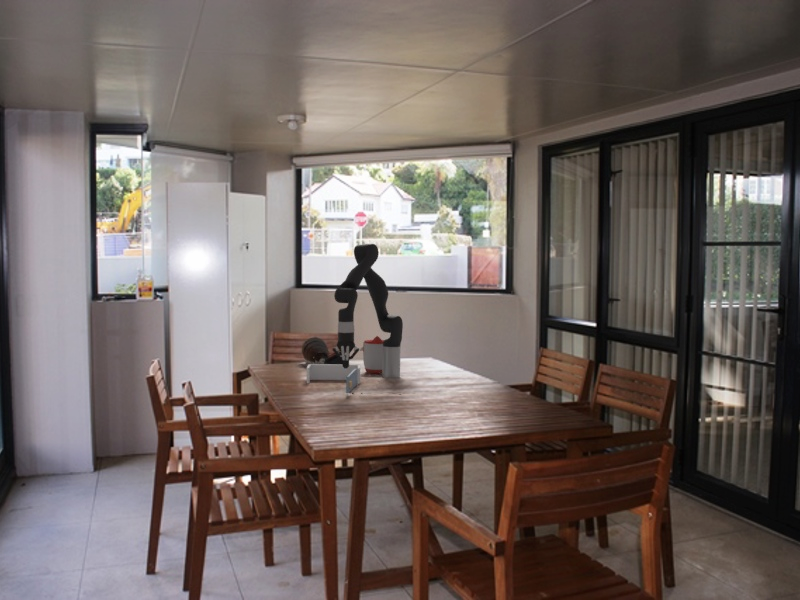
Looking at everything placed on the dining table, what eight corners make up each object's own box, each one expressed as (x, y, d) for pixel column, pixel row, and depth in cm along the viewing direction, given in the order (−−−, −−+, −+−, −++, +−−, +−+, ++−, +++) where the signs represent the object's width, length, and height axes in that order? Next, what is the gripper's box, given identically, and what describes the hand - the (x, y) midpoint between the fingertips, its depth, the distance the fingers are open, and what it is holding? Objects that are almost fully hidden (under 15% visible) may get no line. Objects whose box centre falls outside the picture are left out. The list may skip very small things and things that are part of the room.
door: (346, 393, 336) (346, 376, 336) (354, 384, 359) (354, 368, 358) (350, 393, 336) (350, 377, 335) (358, 384, 359) (358, 368, 358)
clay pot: (311, 349, 403) (303, 335, 426) (306, 375, 406) (298, 360, 429) (337, 351, 408) (328, 337, 431) (332, 377, 411) (323, 362, 434)
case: (308, 381, 370) (308, 364, 369) (360, 382, 371) (360, 364, 371) (306, 386, 358) (306, 368, 357) (359, 386, 359) (360, 368, 359)
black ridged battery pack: (356, 374, 383) (344, 349, 380) (334, 386, 379) (322, 361, 376) (353, 373, 387) (342, 348, 383) (331, 385, 383) (320, 360, 379)
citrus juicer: (360, 369, 410) (361, 333, 408) (391, 370, 409) (392, 334, 408) (357, 374, 394) (358, 337, 393) (390, 375, 393) (390, 338, 392)
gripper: (330, 331, 337) (330, 369, 338) (358, 332, 335) (358, 370, 337) (333, 329, 344) (333, 366, 346) (361, 330, 343) (361, 367, 344)
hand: (345, 368), depth 341 cm, fingers closed
